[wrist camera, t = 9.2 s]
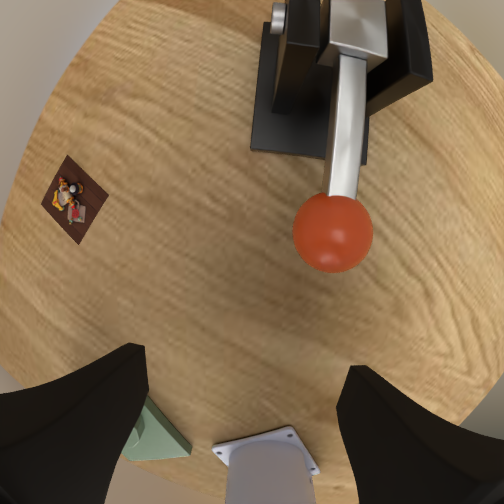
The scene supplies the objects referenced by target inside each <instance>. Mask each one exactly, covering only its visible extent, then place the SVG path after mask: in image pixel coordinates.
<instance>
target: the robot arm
mask: <svg viewBox="0 0 504 504" xmlns="http://www.w3.org/2000/svg"><path fill="white" fill-rule="evenodd" d="M148 391H149V385H148V377H147V367H146V357H145V346H143V345H138V344H133V343H127V344H125V345H123V346H121V347H119V348H117V349H116V350H114V351H112V352H110V353H109V354H107V355H105V356H103V357H101V358H100V359H98V360H96V361H94V362H92V363H90V364H89V365H87V366H85V367H83V368H81V369H78V370H76V371H74V372H72V373H70V374H68V375H66V376H64V377H61V378H59V379H56V380H54V381H51V382H48V383H45V384H42V385H39V386H36V387H32V388H28V389H23V390H19V391H15V392H10V393H3V394H0V504H104V503H105V499H106V495H107V491H108V488H109V484H110V481H111V478H112V474H113V472H114V469H115V466H116V463H117V461H118V459H119V456H120V454H121V452H122V450H123V448H124V446H125V444H126V442H127V440H128V438H129V436H130V434H131V432H132V430H133V428H134V426H135V424H136V422H137V420H138V418H139V416H140V414H141V412H142V409H143V406H144V403H145V400H146V397H147V394H148ZM336 410H337V417H338V423H339V428H340V432H341V436H342V439H343V442H344V445H345V448H346V451H347V454H348V458H349V461H350V464H351V467H352V470H353V473H354V477H355V481H356V485H357V491H358V497H359V504H504V440H501V439H496V438H492V437H488V436H484V435H481V434H478V433H475V432H472V431H469V430H467V429H464V428H461V427H459V426H457V425H454V424H452V423H450V422H448V421H446V420H444V419H442V418H440V417H439V416H437V415H435V414H433V413H431V412H430V411H428V410H427V409H425V408H424V407H422V406H420V405H419V404H417V403H416V402H414V401H413V400H412V399H410V398H409V397H407V396H406V395H405V394H403V393H402V392H401V391H399V390H398V389H397V388H395V387H394V386H393V385H392V384H390V383H389V382H388V381H386V380H385V379H384V378H383V377H381V376H380V375H379V374H377V373H376V372H375V371H373V370H372V369H371V368H369V367H368V366H366V365H354V366H350V369H349V372H348V375H347V378H346V381H345V384H344V386H343V389H342V392H341V395H340V398H339V400H338V403H337V406H336ZM212 451H213V452H214V453H215V454H216V455H217V456H218V457H219V458H220V459H221V460H222V461H223V462H224V463H225V464H226V465H227V466H228V476H227V486H226V497H225V504H316V499H315V493H314V487H313V480H312V476H313V475H316V474H319V473H320V469H319V467H318V466H317V464H316V463H315V461H314V459H313V458H312V456H311V455H310V453H309V452H308V450H307V449H306V447H305V446H304V444H303V443H302V441H301V439H300V438H299V436H298V435H297V433H296V432H295V430H294V428H293V427H289V426H288V427H284V428H281V429H277V430H274V431H271V432H267V433H263V434H260V435H256V436H252V437H248V438H244V439H240V440H235V441H231V442H226V443H221V444H216V445H213V446H212Z"/></svg>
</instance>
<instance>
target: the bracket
mask: <svg viewBox="0 0 504 504" xmlns="http://www.w3.org/2000/svg"><path fill="white" fill-rule="evenodd" d="M385 4H386V15H387V31H388V59H386V60H385V61H384V62H382V63H381V64H380V65H378V66H377V67H375V68H374V69H373V70H371V71H370V72H369V73H367V88H366V107H365V122H364V134H363V145H362V155H361V164H360V166H363V165H366V163H367V149H368V133H369V116H371V115H372V114H374V113H376V112H378V111H379V110H381V109H383V108H385V107H387V106H388V105H390V104H392V103H394V102H396V101H397V100H399V99H401V98H403V97H405V96H407V95H408V94H410V93H412V92H414V91H416V90H418V89H420V88H422V87H423V86H425V85H427V84H429V83H431V82H433V71H432V61H431V53H430V45H429V39H428V32H427V27H426V21H425V16H424V11H423V7H422V2H421V0H386V1H385ZM319 48H320V0H285V3H277V2H274V3H273V7H272V17H271V22H264V24H263V32H262V41H261V50H260V59H259V68H258V78H257V87H256V96H255V106H254V116H253V125H252V135H251V145H250V150H251V151H258V152H268V153H277V154H286V155H294V156H302V157H309V158H316V159H323V160H325V157H326V148H327V138H328V127H329V115H330V102H331V88H332V70H333V67H330V66H325V65H320V64H316V54H317V52H318V50H319Z"/></svg>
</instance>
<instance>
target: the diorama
mask: <svg viewBox="0 0 504 504" xmlns="http://www.w3.org/2000/svg"><path fill="white" fill-rule="evenodd" d="M108 196H109V195H108V194H107V193H106V192H105V191H104V190H103V189H102V188H101V187H100V186H99V185H98V184H97V183H96V182H95V181H94V180H93V179H92V178H91V177H90V176H89V175H87V174H86V173H85V172H84V171H83V170H82V169H81V168H80V167H79V166H78V165H77V164H76V163H75V162H74V161H73V160H72V159H71V158H70V157H69V156H68V155H67V156H66V158H65V159H64V161H63V163H62V165H61V166H60V168H59V170H58V172H57V174H56V175H55V177H54V179H53V181H52V183H51V185H50V187H49V189H48V191H47V193H46V195H45V197H44V199H43V201H42V203H41V205H42V206H43V207H44V208H45V209H46V211H47V212H48V213H49V214H50V215H51V216H52V217H53V218H54V220H55V221H56V222H57V223H58V224H59V225H60V226H61V227H62V228H63V229H64V230H65V231H66V232H67V234H68V235H69V236H70V237H71V238H72V239H73V240H74V241H75V242H76V243H77V244H78V245H79V244H80V242H81V241H82V239H83V237H84V235H85V233H86V232H87V230H88V228H89V227H90V225H91V223H92V222H93V220H94V218H95V217H96V215H97V213H98V212H99V210H100V209H101V207H102V205H103V204H104V202H105V201H106V199H107V198H108Z"/></svg>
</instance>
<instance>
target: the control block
mask: <svg viewBox="0 0 504 504" xmlns="http://www.w3.org/2000/svg"><path fill="white" fill-rule="evenodd" d="M191 451H192V446H191V445H190V444H189V443H188V442H187V441H186V440H185V439H184V438H183V437H182V436H181V434H180V433H179V432H178V431H177V430H176V429H175V428H174V427H173V426H172V424H171V423H170V422H169V421H168V420H167V419H166V417H165V416H164V415H163V414H162V413H161V412H160V410H159V409H158V408H157V407H156V405H155V404H154V403H153V402H152V401H151V399H150V398H149V397H148V395H147V397H146V400H145V403H144V406H143V409H142V412H141V414H140V416H139V418H138V420H137V422H136V424H135V426H134V428H133V430H132V432H131V434H130V436H129V438H128V440H127V442H126V444H125V446H124V448H123V450H122V452H121V453H122V454H123V455H124V456H125V457H126V458H127V459H128V460H129V461H138V460H154V459H166V458H175V457H184V456H190V455H191Z"/></svg>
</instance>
